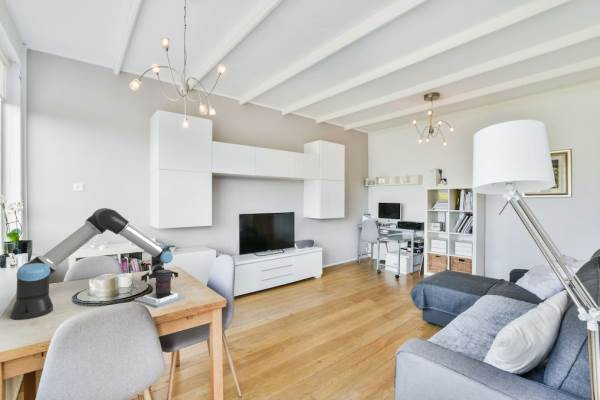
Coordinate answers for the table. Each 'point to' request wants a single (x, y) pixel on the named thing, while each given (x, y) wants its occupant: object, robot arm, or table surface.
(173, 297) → the board
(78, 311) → the table surface
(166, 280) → the camera lens
